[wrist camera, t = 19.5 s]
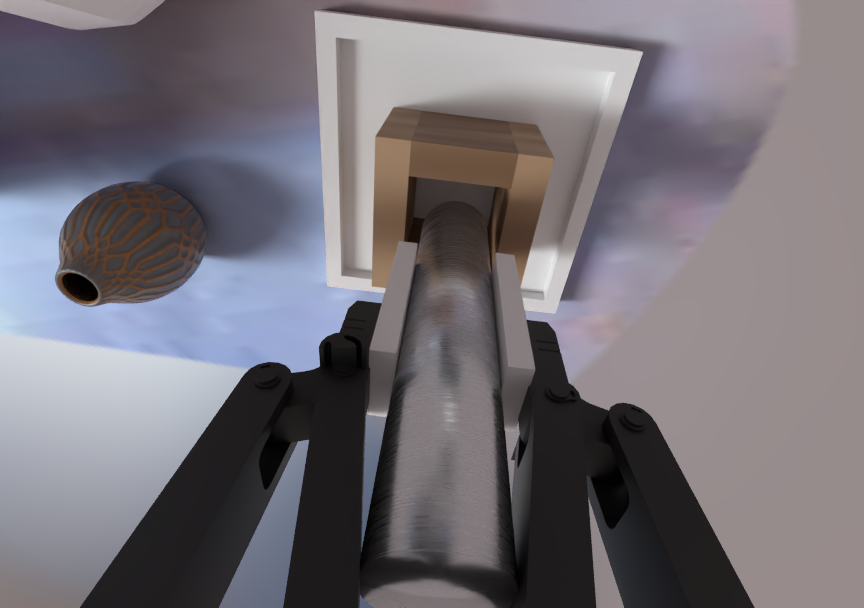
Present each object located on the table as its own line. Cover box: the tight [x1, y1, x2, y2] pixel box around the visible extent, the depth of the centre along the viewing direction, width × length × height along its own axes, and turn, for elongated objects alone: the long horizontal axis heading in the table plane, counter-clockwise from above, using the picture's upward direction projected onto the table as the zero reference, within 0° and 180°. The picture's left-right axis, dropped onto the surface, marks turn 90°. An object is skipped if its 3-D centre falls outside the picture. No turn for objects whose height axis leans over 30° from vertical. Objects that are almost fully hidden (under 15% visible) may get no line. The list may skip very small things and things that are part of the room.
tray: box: [315, 10, 643, 314], centre depth 26 cm, size 16×16×2 cm
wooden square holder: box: [372, 107, 555, 288], centre depth 24 cm, size 8×8×6 cm
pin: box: [360, 201, 519, 608], centre depth 15 cm, size 3×3×16 cm
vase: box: [55, 182, 206, 307], centre depth 26 cm, size 7×7×9 cm
